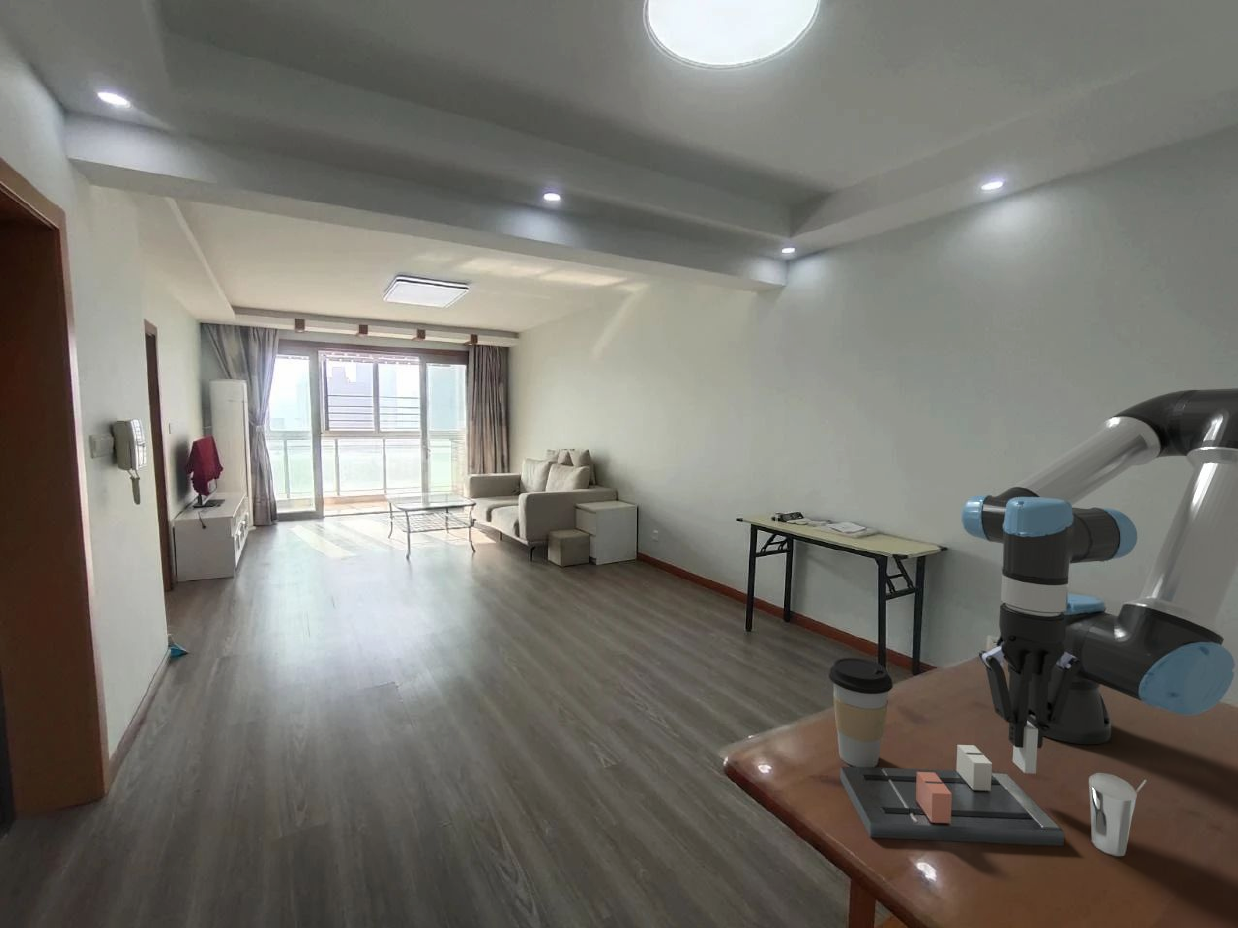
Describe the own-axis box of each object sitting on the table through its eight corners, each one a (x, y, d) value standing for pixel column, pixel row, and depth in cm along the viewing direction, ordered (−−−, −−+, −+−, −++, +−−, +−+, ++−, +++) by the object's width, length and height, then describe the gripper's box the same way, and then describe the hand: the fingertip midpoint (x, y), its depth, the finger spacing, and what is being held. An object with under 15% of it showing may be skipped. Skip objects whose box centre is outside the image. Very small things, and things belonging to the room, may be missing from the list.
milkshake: (1146, 869, 67) (1151, 790, 67) (1088, 851, 70) (1093, 775, 69) (1136, 845, 71) (1141, 770, 70) (1082, 829, 74) (1086, 757, 73)
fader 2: (973, 770, 83) (974, 744, 83) (990, 790, 78) (991, 762, 78) (956, 770, 83) (957, 744, 83) (973, 789, 79) (974, 762, 78)
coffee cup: (897, 779, 84) (900, 683, 83) (832, 771, 86) (834, 678, 85) (881, 743, 94) (884, 657, 93) (822, 737, 96) (824, 653, 94)
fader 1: (933, 800, 76) (934, 771, 76) (950, 823, 72) (951, 793, 72) (915, 799, 77) (916, 771, 76) (931, 822, 72) (932, 792, 72)
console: (1004, 785, 83) (1005, 771, 83) (1063, 845, 71) (1064, 830, 71) (840, 778, 85) (840, 765, 84) (870, 837, 73) (870, 821, 73)
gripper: (1061, 599, 82) (1052, 753, 83) (969, 598, 82) (962, 750, 84) (1102, 617, 74) (1091, 786, 76) (1000, 615, 75) (992, 782, 77)
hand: (1023, 767), depth 80 cm, fingers closed
